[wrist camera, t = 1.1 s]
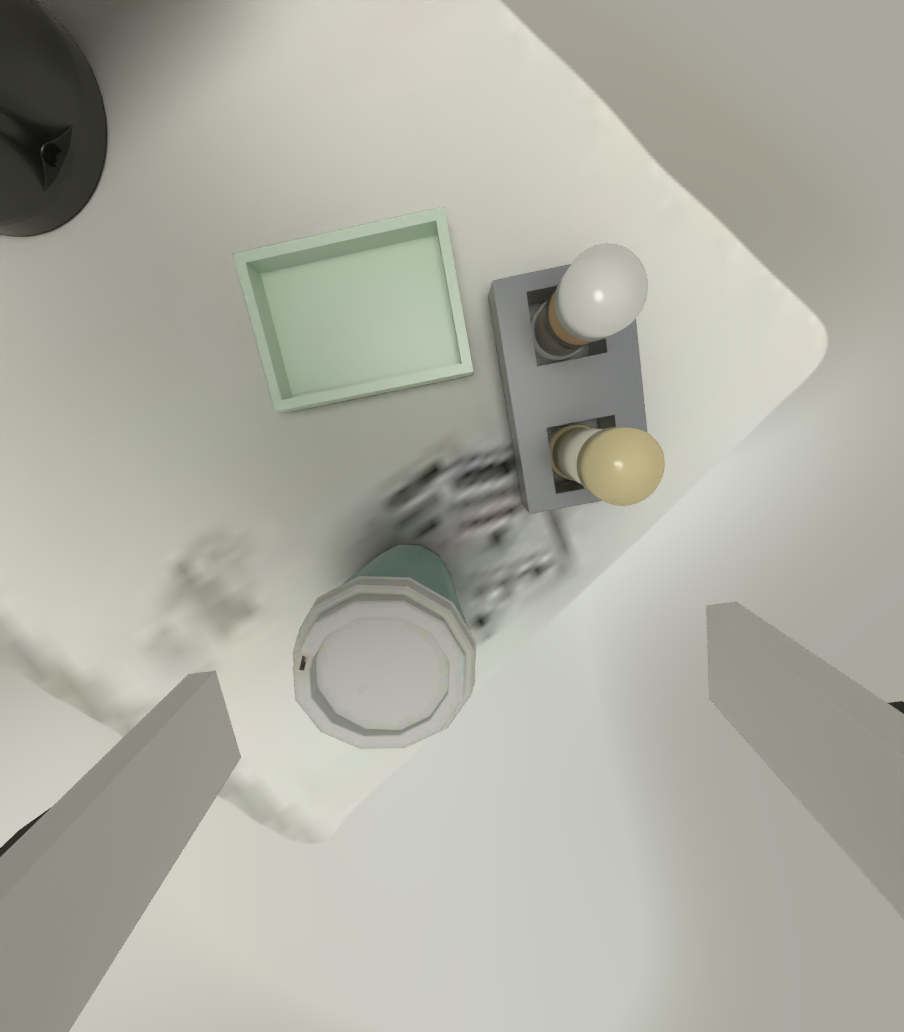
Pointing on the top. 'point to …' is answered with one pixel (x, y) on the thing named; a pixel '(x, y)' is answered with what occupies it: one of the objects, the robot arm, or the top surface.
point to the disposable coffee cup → (386, 653)
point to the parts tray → (356, 311)
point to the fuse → (608, 461)
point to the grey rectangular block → (558, 387)
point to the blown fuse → (590, 302)
